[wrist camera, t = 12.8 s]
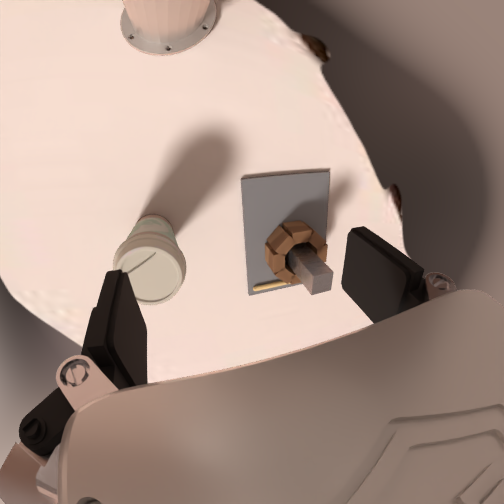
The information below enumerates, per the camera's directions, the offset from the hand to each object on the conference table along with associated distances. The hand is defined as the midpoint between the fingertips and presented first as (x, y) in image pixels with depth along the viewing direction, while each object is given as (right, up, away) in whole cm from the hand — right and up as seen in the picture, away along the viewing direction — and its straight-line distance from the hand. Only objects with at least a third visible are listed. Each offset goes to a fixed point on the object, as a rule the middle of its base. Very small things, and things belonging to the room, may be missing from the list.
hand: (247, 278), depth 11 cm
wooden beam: (+6, +2, +34) cm, 34 cm away
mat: (+6, +4, +33) cm, 34 cm away
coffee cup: (-14, +4, +27) cm, 31 cm away
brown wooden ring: (+7, +2, +34) cm, 34 cm away
